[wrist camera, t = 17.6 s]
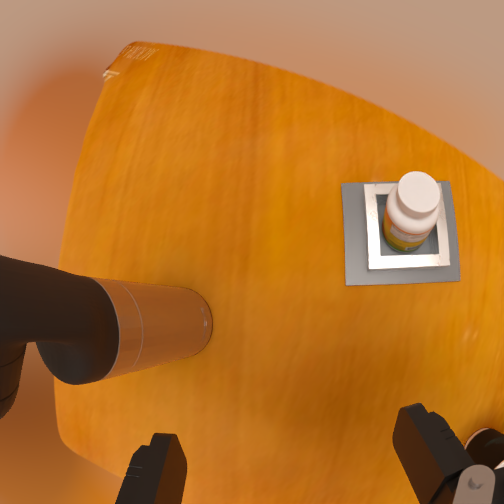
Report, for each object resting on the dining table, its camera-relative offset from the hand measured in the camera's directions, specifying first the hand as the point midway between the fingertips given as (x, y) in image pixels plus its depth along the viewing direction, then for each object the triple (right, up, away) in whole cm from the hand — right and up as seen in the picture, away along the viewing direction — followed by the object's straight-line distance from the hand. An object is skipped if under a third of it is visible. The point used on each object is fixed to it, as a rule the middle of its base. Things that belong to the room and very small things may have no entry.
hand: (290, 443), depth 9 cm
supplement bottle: (+16, +9, +23) cm, 29 cm away
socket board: (+16, +9, +24) cm, 30 cm away
